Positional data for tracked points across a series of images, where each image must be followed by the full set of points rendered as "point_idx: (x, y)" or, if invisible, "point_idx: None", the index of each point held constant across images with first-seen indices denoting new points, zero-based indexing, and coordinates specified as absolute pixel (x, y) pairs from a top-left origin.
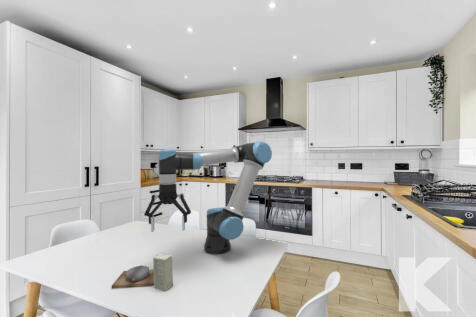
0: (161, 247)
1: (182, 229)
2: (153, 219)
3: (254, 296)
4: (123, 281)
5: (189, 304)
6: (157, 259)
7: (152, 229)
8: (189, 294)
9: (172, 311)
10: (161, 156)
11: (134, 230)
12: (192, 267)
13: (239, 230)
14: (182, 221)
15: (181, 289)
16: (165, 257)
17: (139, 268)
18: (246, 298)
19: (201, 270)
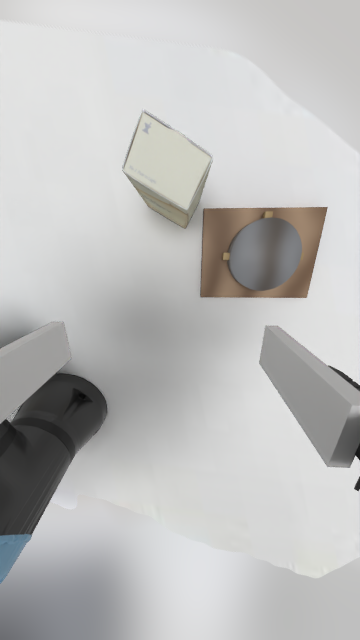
0: (225, 432)
1: (56, 324)
2: (314, 404)
3: None
4: (296, 229)
5: (74, 81)
6: (187, 140)
7: (275, 332)
8: (88, 145)
9: (115, 41)
10: None
11: (315, 532)
12: (116, 307)
13: None
14: (2, 355)
15: (118, 179)
16: (148, 144)
17: (263, 272)
18: None
19: (86, 287)
